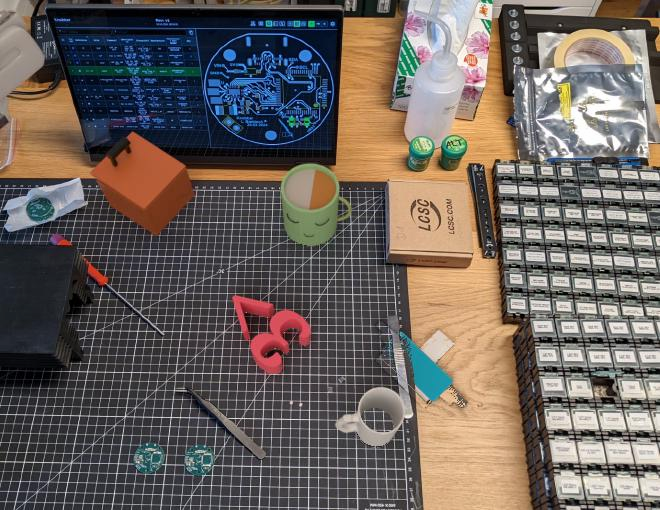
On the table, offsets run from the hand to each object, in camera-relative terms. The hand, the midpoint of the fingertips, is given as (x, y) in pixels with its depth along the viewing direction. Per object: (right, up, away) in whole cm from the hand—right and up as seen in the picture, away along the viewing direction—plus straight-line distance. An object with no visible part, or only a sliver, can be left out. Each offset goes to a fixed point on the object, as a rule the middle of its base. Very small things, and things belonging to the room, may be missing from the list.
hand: (0, 124), depth 88 cm
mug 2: (+52, -47, +12) cm, 71 cm away
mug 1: (+44, -13, +30) cm, 55 cm away
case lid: (+12, -4, +23) cm, 26 cm away
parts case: (+13, -8, +31) cm, 35 cm away
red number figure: (+36, -32, +19) cm, 52 cm away
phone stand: (+63, -37, +18) cm, 75 cm away
